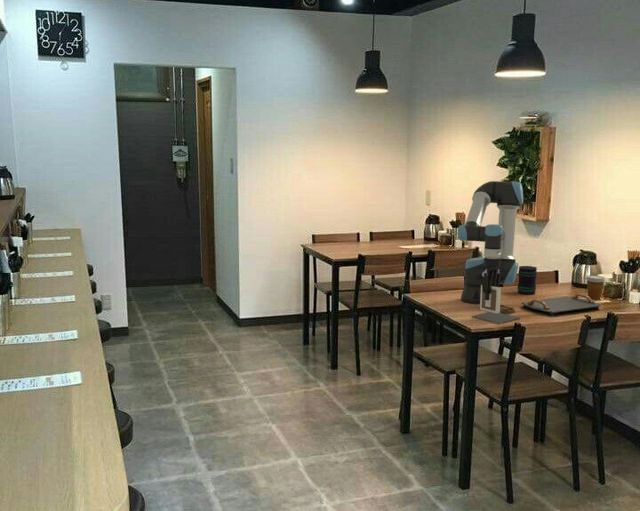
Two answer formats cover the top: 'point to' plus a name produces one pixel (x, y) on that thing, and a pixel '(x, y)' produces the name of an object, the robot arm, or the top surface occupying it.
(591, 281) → the disposable coffee cup
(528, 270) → the storage jar
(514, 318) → the rubber mat
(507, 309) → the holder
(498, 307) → the white picture frame
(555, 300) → the serving board
